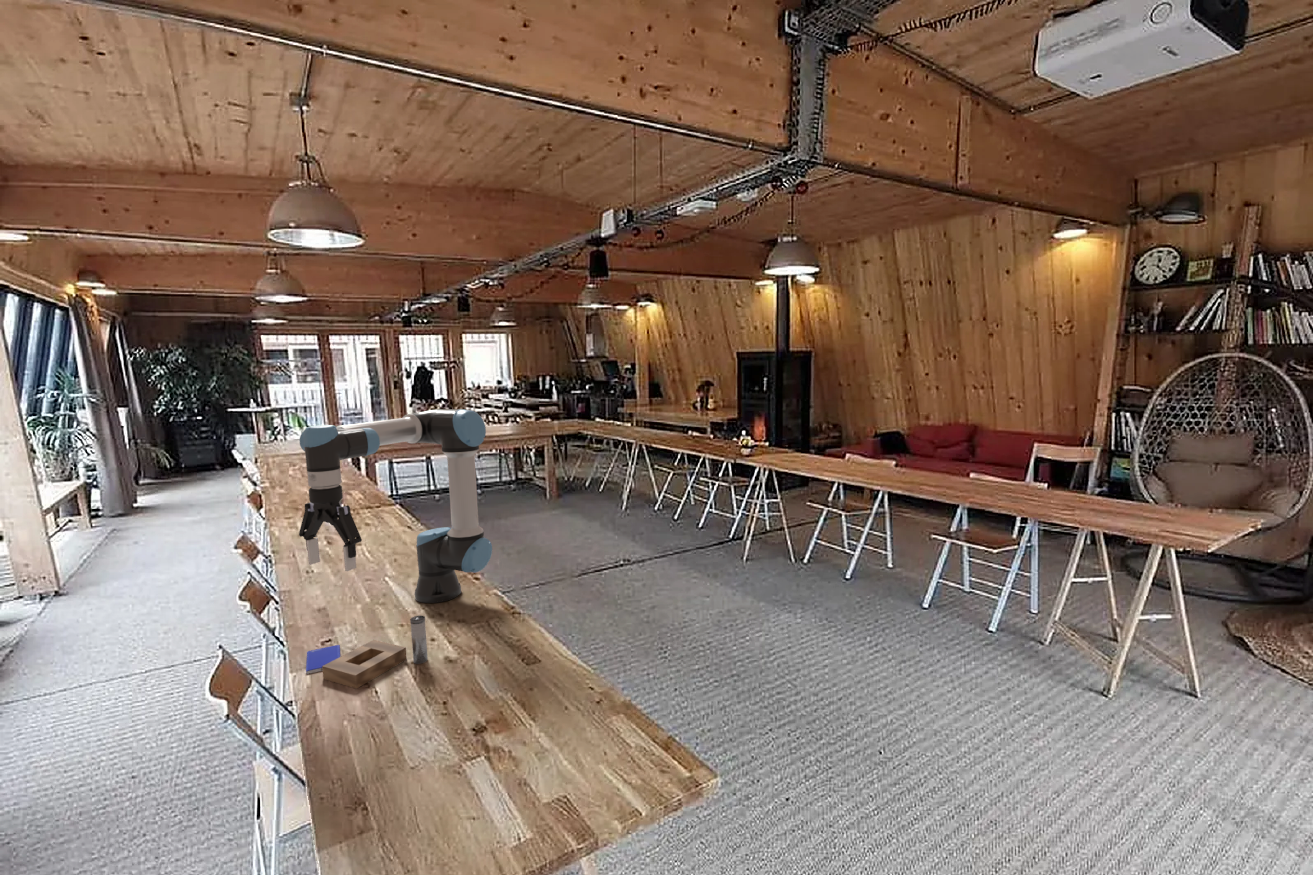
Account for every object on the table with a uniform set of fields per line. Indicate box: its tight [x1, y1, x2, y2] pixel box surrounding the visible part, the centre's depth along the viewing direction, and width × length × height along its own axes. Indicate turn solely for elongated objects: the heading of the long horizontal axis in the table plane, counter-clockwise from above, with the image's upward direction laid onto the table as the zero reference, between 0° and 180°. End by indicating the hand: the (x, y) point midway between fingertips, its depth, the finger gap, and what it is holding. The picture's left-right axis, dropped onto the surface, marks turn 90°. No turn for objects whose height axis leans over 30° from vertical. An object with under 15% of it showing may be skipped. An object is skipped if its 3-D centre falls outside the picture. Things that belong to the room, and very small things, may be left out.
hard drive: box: [305, 644, 341, 675], centre depth 167 cm, size 2×8×12 cm
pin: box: [409, 615, 429, 665], centre depth 165 cm, size 4×4×12 cm
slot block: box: [322, 639, 408, 689], centre depth 162 cm, size 16×12×4 cm
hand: (332, 566), depth 159 cm, fingers open, 13 cm apart
